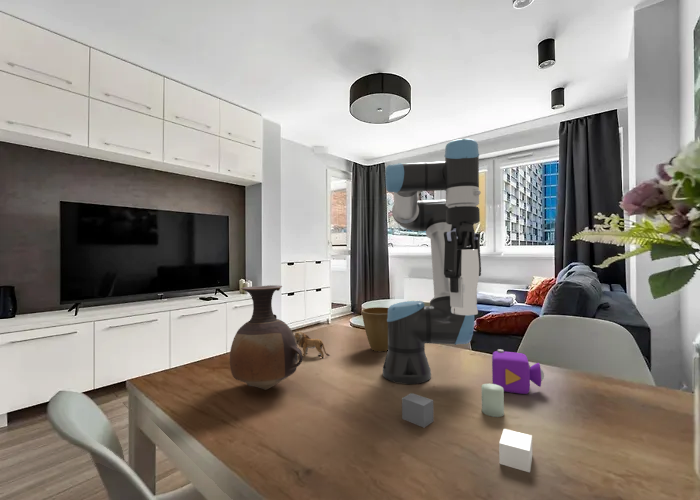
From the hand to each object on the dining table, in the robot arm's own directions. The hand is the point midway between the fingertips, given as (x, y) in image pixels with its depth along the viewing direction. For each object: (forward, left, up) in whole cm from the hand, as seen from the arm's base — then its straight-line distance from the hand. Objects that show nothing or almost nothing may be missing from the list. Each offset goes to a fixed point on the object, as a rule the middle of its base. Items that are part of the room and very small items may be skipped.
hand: (463, 304), depth 80 cm
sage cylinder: (+3, +8, -27) cm, 28 cm away
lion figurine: (-66, +6, -27) cm, 72 cm away
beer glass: (0, 0, -2) cm, 2 cm away
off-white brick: (+14, -8, -27) cm, 32 cm away
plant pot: (-52, +31, -27) cm, 66 cm away
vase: (-51, -23, -27) cm, 62 cm away
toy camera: (+2, +27, -27) cm, 38 cm away
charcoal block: (-8, -8, -27) cm, 29 cm away
